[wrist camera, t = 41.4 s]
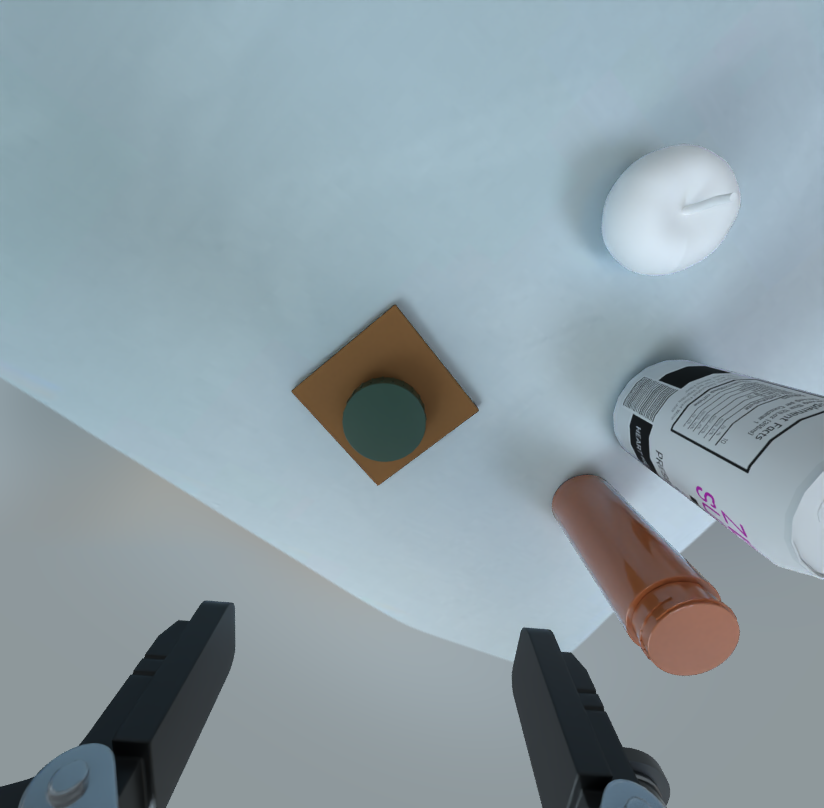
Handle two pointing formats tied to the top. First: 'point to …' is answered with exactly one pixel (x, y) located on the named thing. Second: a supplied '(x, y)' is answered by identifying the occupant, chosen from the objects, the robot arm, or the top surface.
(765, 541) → the supplement can
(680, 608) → the jar
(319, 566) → the top surface
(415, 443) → the lid
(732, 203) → the plain white apple
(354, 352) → the coaster
